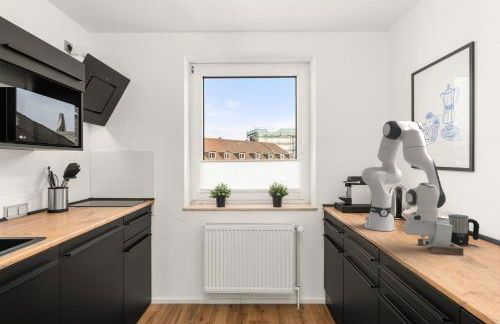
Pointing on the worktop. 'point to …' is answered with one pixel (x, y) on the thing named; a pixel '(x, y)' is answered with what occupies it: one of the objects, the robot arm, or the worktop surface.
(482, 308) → the worktop surface
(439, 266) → the worktop surface
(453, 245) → the walnut corral
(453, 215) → the milk frother
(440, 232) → the supplement box
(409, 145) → the robot arm
